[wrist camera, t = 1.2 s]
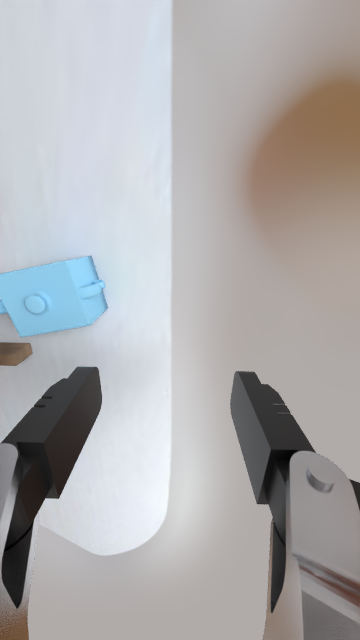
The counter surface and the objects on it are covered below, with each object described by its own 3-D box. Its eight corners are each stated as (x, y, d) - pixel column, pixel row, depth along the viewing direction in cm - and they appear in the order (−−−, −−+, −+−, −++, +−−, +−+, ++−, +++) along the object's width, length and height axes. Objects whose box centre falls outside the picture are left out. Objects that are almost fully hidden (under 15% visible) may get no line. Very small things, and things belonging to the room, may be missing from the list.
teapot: (30, 320, 27) (-22, 348, 20) (8, 272, 25) (-60, 285, 18) (122, 303, 26) (100, 327, 19) (107, 252, 24) (77, 258, 17)
